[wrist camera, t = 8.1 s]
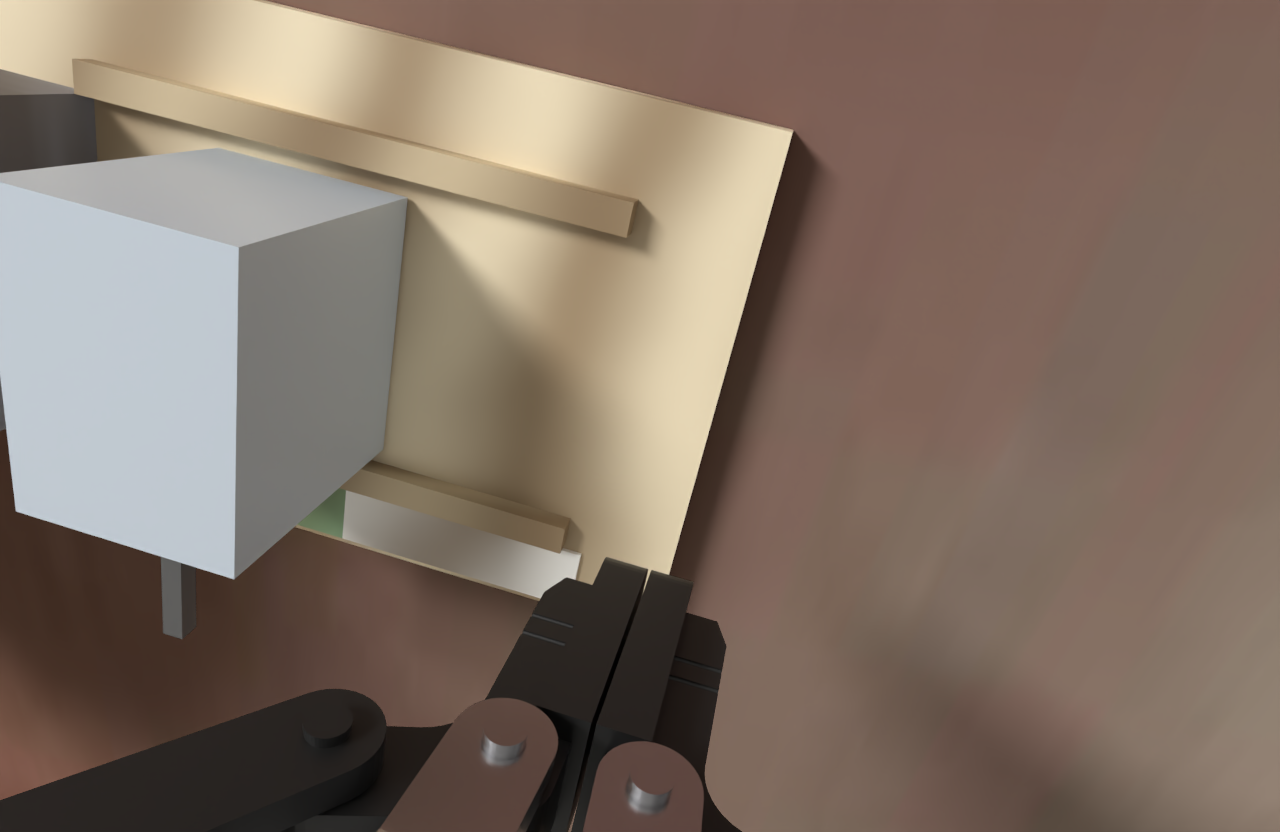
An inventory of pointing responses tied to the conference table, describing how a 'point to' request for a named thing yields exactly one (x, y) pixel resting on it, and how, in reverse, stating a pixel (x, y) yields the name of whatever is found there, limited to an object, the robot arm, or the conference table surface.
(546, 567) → the wooden sliding jig
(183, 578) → the block
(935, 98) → the conference table surface
